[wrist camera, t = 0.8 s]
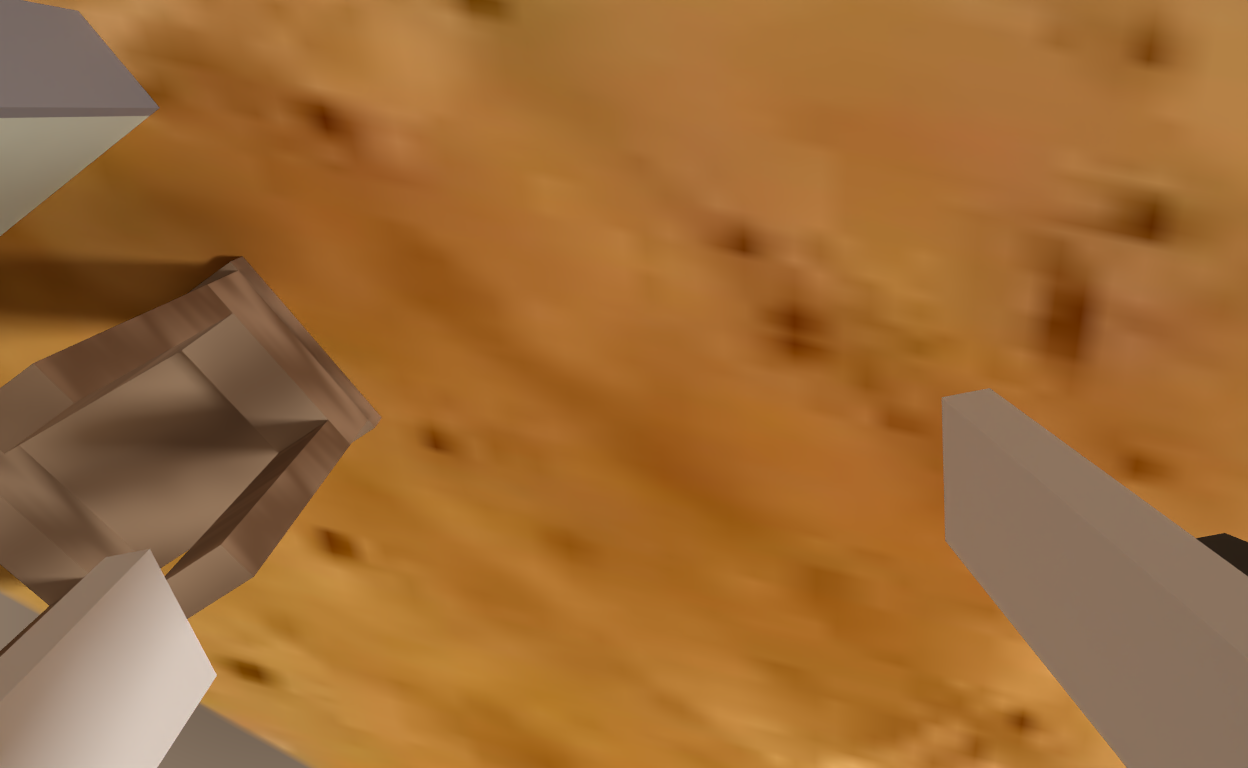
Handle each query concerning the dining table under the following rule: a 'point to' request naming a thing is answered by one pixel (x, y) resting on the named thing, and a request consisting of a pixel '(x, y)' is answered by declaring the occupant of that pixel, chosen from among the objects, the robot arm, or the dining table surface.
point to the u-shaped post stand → (172, 442)
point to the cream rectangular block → (56, 102)
